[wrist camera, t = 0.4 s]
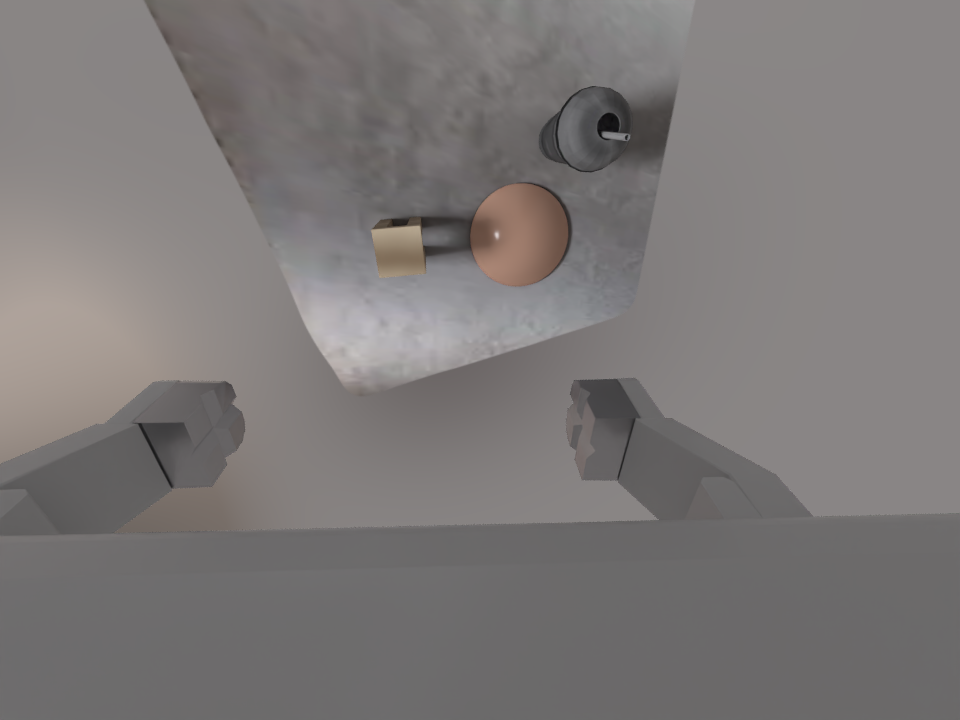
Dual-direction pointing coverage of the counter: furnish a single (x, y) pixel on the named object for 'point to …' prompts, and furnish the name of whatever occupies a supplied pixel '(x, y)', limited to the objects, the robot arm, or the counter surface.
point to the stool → (399, 248)
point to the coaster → (519, 234)
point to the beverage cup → (588, 130)
